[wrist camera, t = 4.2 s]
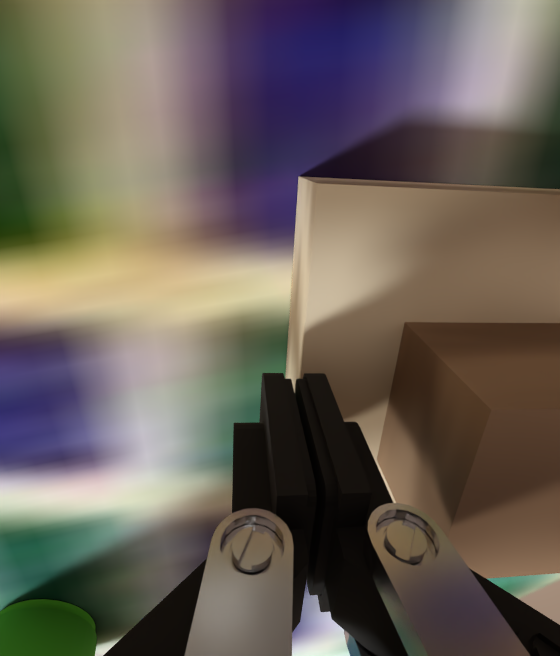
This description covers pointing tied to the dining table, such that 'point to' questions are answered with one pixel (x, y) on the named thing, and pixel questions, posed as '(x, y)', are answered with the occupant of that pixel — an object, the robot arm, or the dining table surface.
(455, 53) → the dining table surface
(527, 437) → the block
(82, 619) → the cup
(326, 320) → the board
